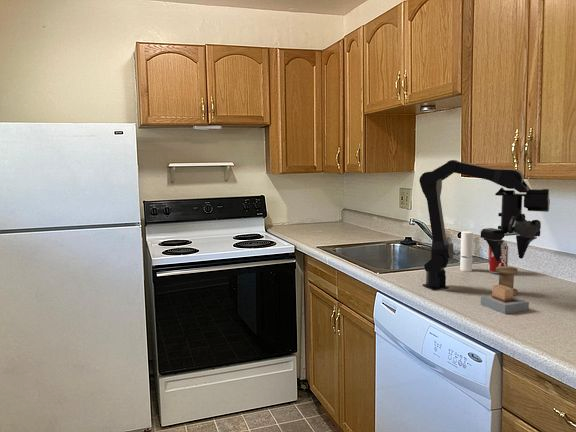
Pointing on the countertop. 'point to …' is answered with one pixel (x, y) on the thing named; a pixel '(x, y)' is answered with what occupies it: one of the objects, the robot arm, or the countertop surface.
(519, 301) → the grey u-shaped frame
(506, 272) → the knob
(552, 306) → the countertop surface
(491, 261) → the soda can
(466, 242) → the tube
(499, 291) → the orange tan block
